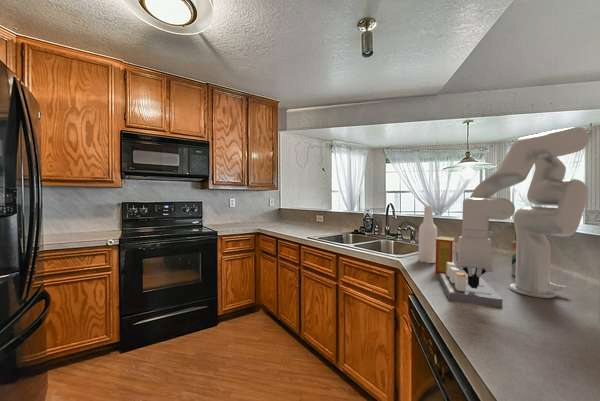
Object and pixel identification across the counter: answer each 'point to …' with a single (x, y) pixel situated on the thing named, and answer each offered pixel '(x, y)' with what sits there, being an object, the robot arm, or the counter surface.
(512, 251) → the lotion bottle
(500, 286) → the counter surface
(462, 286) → the handle
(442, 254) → the baking soda box
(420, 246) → the alcohol
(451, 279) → the handle mid
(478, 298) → the panel
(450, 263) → the handle back
